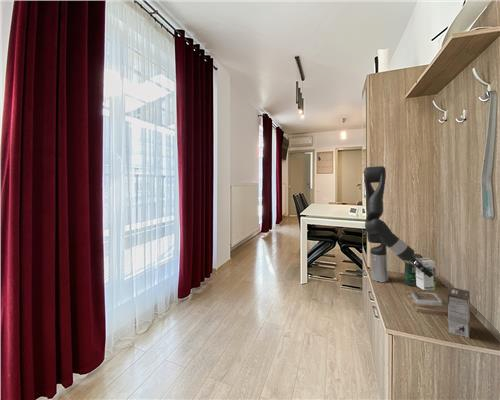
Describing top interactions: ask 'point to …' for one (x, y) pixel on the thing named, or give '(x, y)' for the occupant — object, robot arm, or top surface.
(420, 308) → the carrier board
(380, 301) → the top surface
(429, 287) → the syrup box
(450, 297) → the coffee box
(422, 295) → the socket collar
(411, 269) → the coffee jar
